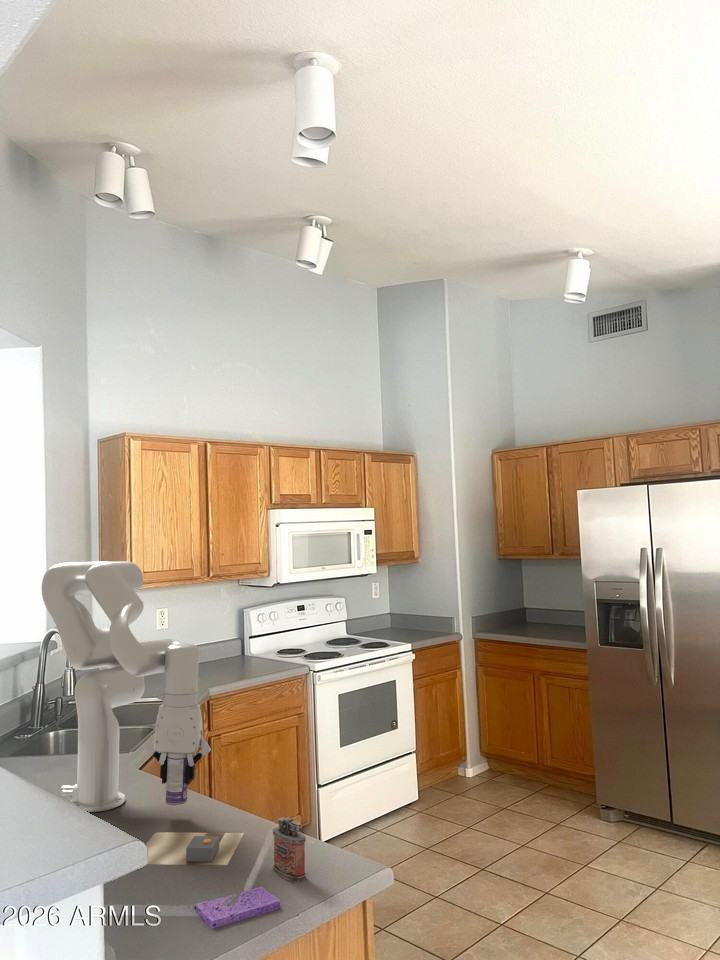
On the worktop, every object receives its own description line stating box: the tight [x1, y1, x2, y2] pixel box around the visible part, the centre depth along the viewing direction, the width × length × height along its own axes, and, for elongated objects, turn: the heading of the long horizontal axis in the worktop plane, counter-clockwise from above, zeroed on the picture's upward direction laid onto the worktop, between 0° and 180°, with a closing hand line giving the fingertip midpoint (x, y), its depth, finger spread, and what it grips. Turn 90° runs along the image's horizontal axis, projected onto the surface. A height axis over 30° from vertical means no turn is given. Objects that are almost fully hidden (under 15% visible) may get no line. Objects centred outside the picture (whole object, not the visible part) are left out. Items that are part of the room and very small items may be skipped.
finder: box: [186, 836, 219, 862], centre depth 147 cm, size 5×6×3 cm
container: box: [165, 753, 189, 806], centre depth 169 cm, size 5×5×15 cm
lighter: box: [272, 817, 307, 883], centre depth 141 cm, size 8×3×10 cm, turn 44°
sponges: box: [195, 886, 282, 930], centre depth 127 cm, size 7×13×2 cm, turn 124°
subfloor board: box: [145, 831, 245, 866], centre depth 151 cm, size 19×16×1 cm
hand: (177, 781), depth 168 cm, fingers closed on container, 4 cm apart
